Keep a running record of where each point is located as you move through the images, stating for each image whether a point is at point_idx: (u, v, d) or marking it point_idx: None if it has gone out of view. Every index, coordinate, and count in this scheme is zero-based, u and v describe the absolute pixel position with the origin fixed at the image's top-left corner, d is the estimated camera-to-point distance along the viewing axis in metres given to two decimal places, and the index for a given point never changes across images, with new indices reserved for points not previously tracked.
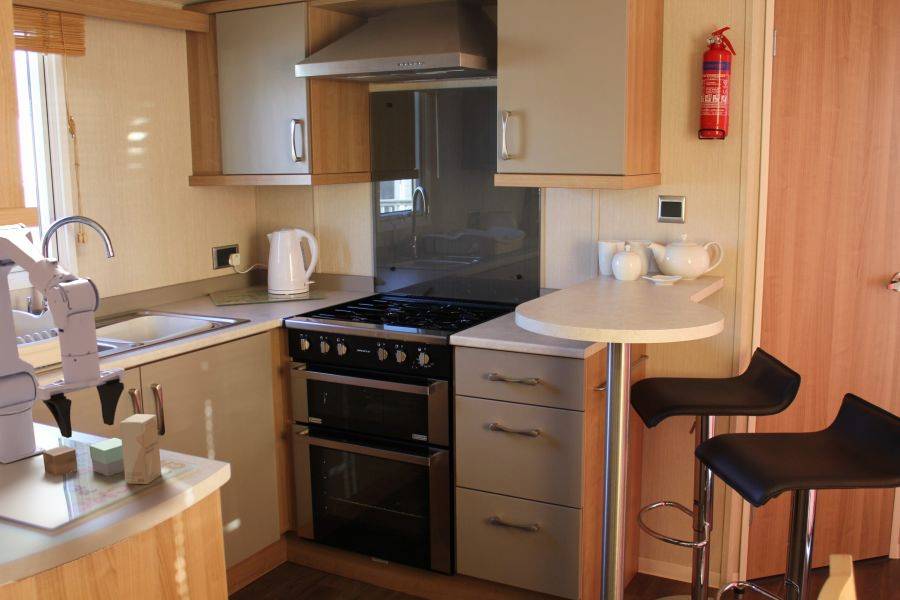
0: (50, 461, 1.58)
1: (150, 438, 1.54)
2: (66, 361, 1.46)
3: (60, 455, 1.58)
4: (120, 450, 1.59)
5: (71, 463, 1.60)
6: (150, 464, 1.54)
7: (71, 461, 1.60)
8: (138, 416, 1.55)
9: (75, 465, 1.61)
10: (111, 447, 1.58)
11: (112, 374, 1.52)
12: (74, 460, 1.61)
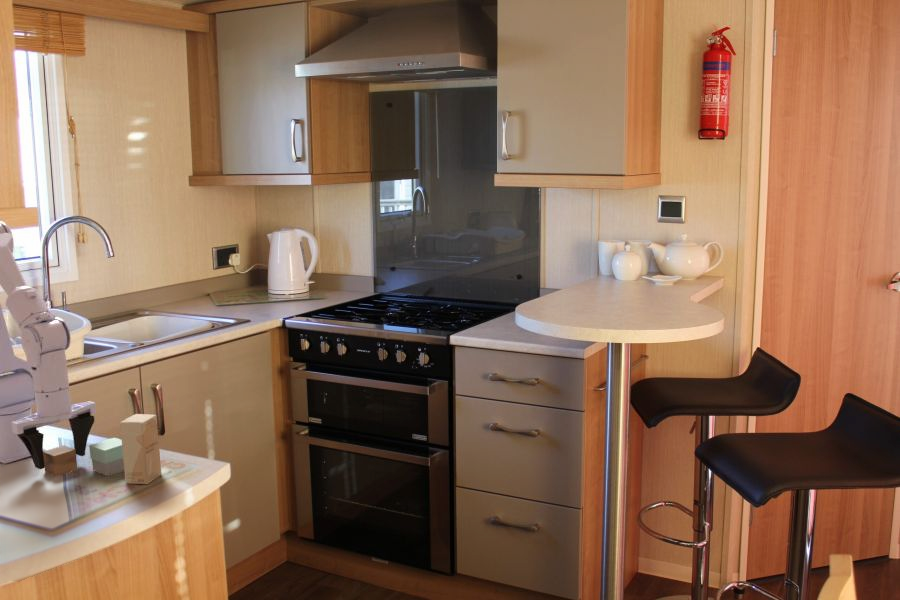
0: (50, 461, 1.58)
1: (150, 438, 1.54)
2: (39, 397, 1.56)
3: (60, 455, 1.58)
4: (120, 450, 1.59)
5: (71, 463, 1.60)
6: (150, 464, 1.54)
7: (71, 461, 1.60)
8: (139, 416, 1.55)
9: (75, 465, 1.61)
10: (111, 447, 1.58)
11: (83, 408, 1.61)
12: (74, 460, 1.61)
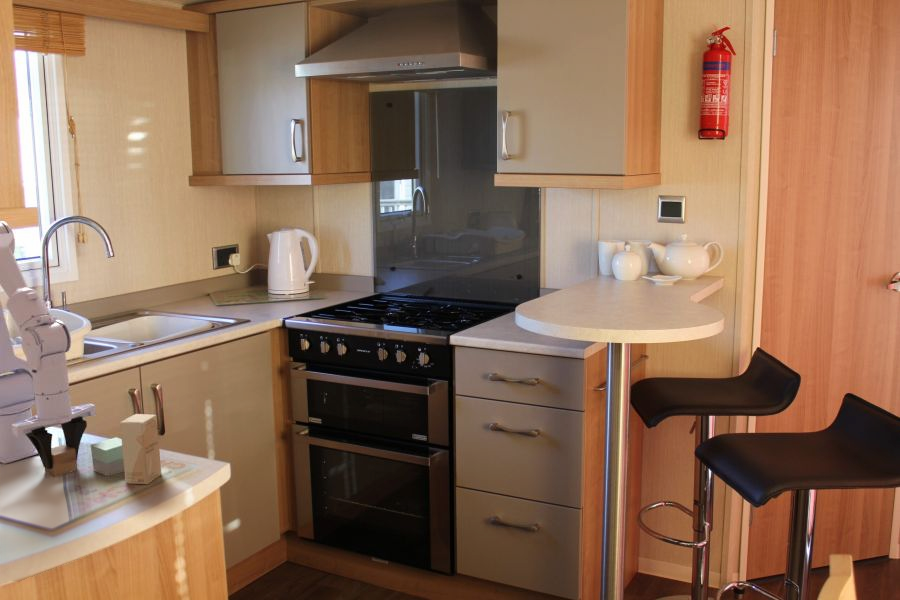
0: None
1: (150, 438, 1.54)
2: (39, 400, 1.56)
3: (60, 454, 1.58)
4: (121, 450, 1.60)
5: (71, 462, 1.60)
6: (150, 464, 1.54)
7: (71, 460, 1.60)
8: (139, 416, 1.55)
9: (75, 464, 1.61)
10: (112, 447, 1.59)
11: (83, 410, 1.61)
12: (74, 460, 1.61)
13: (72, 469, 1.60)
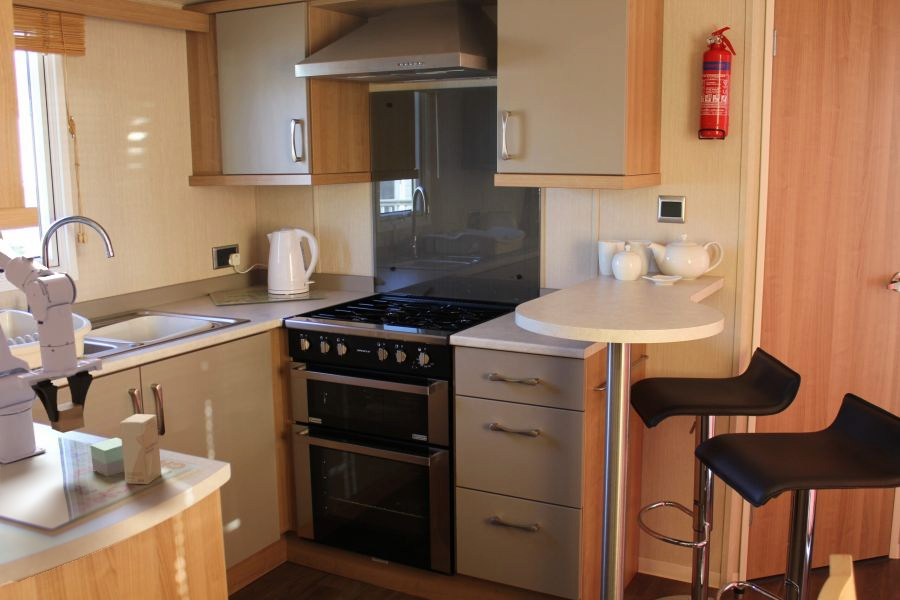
0: None
1: (150, 438, 1.54)
2: (44, 351, 1.54)
3: (67, 410, 1.57)
4: (120, 450, 1.59)
5: (78, 419, 1.58)
6: (150, 464, 1.54)
7: (78, 417, 1.58)
8: (138, 416, 1.55)
9: (82, 421, 1.59)
10: (111, 447, 1.58)
11: (89, 364, 1.60)
12: (81, 416, 1.59)
13: (79, 426, 1.59)
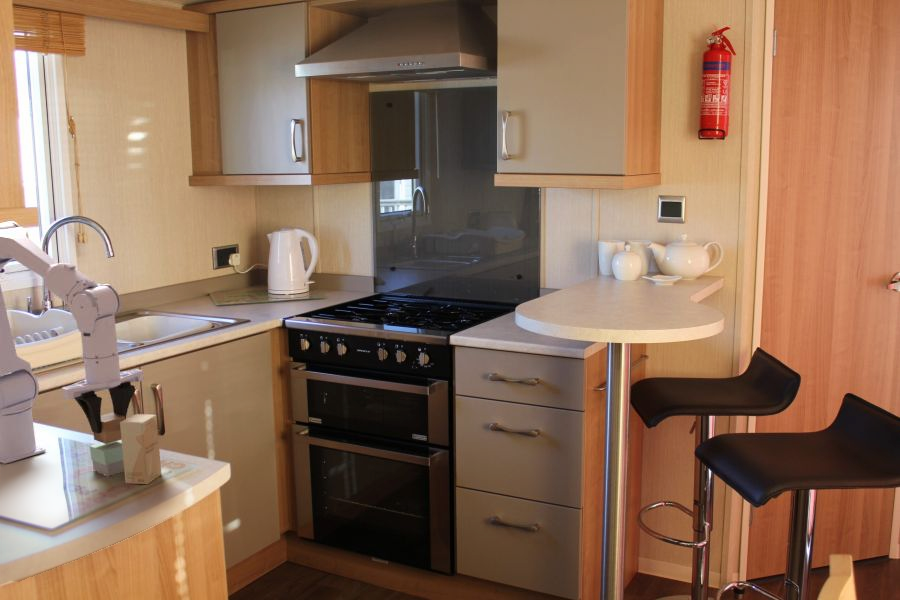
0: None
1: (150, 438, 1.54)
2: (88, 363, 1.55)
3: (110, 422, 1.57)
4: (120, 451, 1.59)
5: (120, 430, 1.59)
6: (150, 464, 1.54)
7: None
8: (138, 416, 1.55)
9: None
10: (111, 448, 1.58)
11: (131, 375, 1.61)
12: None
13: None
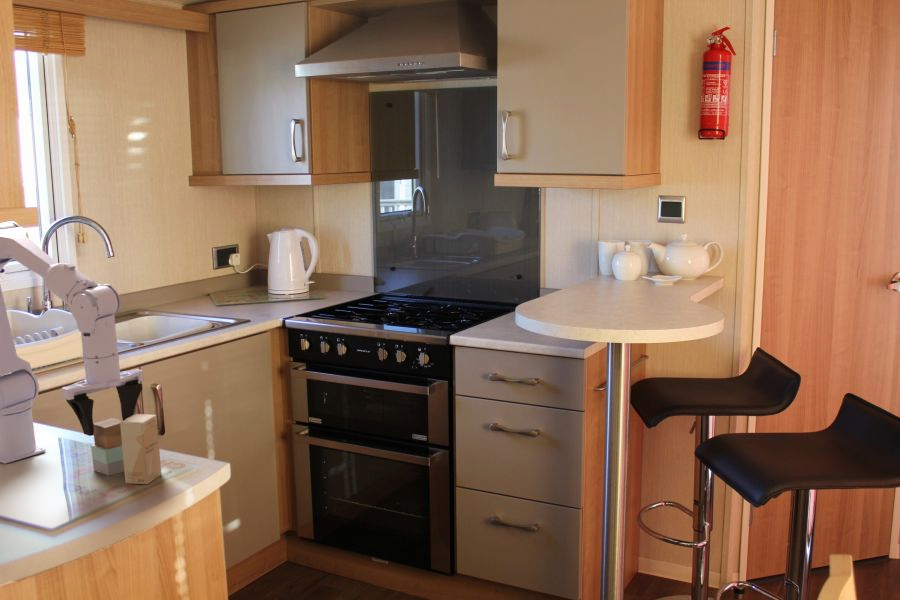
0: (101, 433, 1.58)
1: (150, 438, 1.54)
2: (88, 363, 1.55)
3: (111, 427, 1.58)
4: (121, 450, 1.59)
5: None
6: (150, 464, 1.54)
7: None
8: (139, 416, 1.55)
9: None
10: None
11: (131, 375, 1.61)
12: None
13: None
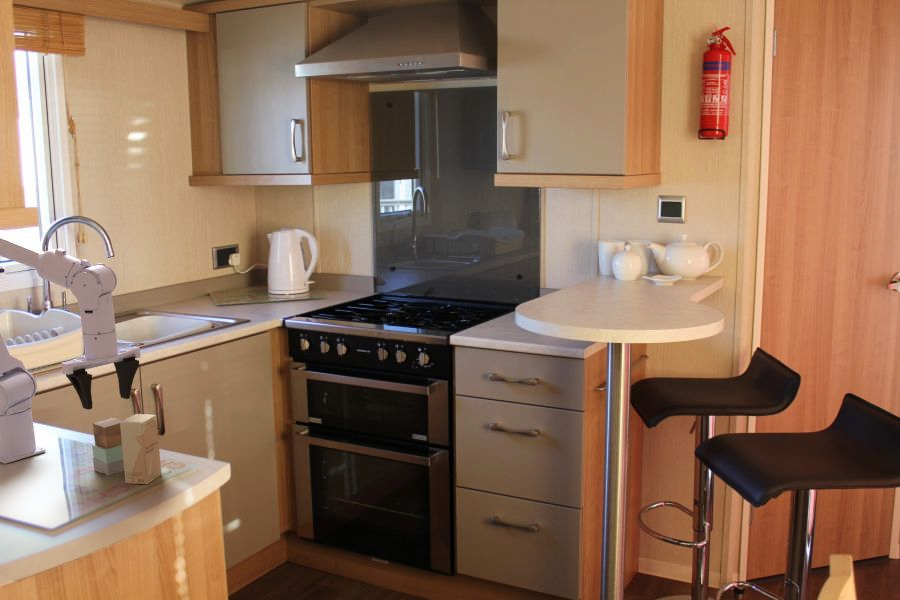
0: (101, 432, 1.58)
1: (150, 438, 1.54)
2: (87, 339, 1.61)
3: (110, 427, 1.58)
4: (122, 450, 1.59)
5: None
6: (150, 464, 1.54)
7: None
8: (139, 416, 1.55)
9: None
10: (113, 447, 1.59)
11: (128, 352, 1.66)
12: None
13: None
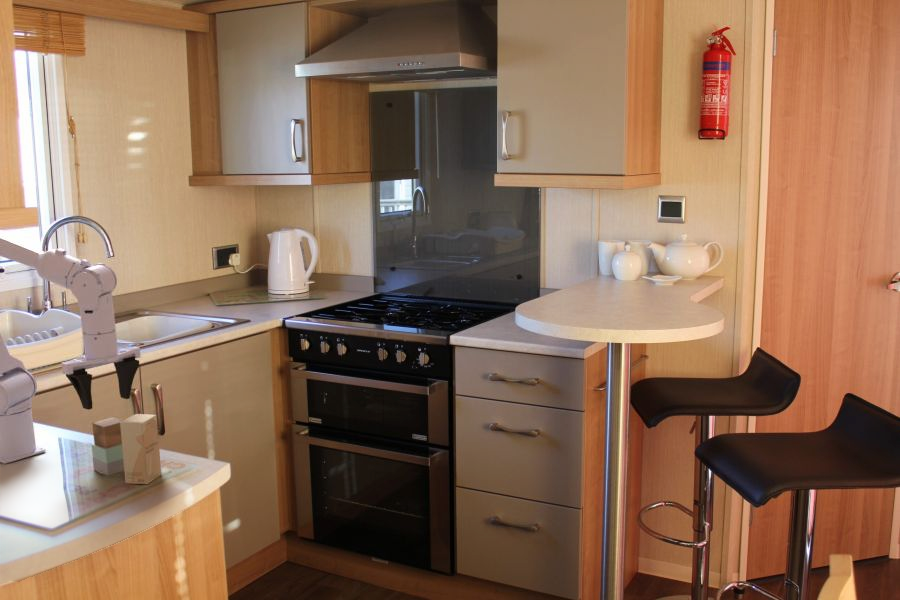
0: (100, 432, 1.58)
1: (150, 438, 1.54)
2: (87, 339, 1.61)
3: (110, 426, 1.58)
4: (121, 449, 1.59)
5: (120, 434, 1.60)
6: (150, 464, 1.54)
7: None
8: (139, 416, 1.55)
9: None
10: (112, 447, 1.58)
11: (128, 352, 1.66)
12: None
13: (121, 441, 1.60)
